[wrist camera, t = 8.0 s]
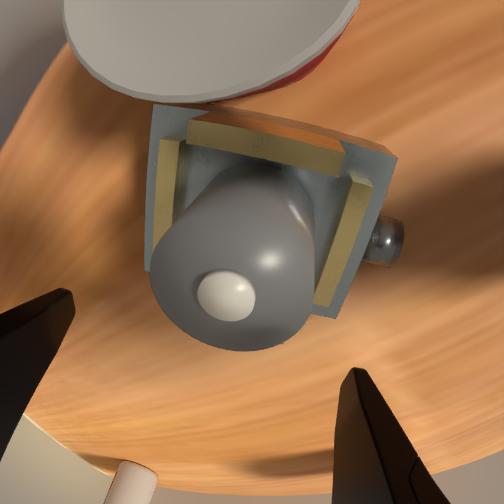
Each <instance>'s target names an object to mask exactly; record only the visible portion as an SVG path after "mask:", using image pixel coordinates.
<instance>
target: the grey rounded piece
mask: <svg viewBox="0 0 504 504" xmlns="http://www.w3.org/2000/svg"><path fill="white" fill-rule="evenodd" d="M314 266H315V242H314V213H313V208H312V205H311V203H310V200H309V198H308V196H307V194H306V193H305V191H304V190H303V189H302V187H301V186H300V185H299V184H298V183H297V182H296V181H295V180H294V179H292V178H291V177H290V176H289V175H287V174H285V173H284V172H282V171H280V170H277V169H275V168H272V167H269V166H265V165H259V164H247V165H240V166H236V167H233V168H230V169H228V170H226V171H224V172H222V173H220V174H219V175H218V176H216V177H215V178H214V179H213V180H212V181H211V182H210V183H209V184H208V185H207V186H206V187H205V189H204V190H203V191H202V192H201V193H200V194H199V195H198V196H197V197H196V199H195V200H194V201H193V202H192V203H191V204H190V205H189V206H188V207H187V209H186V210H185V211H184V212H183V213H182V214H181V215H180V217H179V218H178V219H177V220H176V221H175V222H174V223H173V225H172V226H171V227H170V228H169V229H168V230H167V232H166V233H165V234H164V235H163V236H162V237H161V239H160V240H159V242H158V243H157V245H156V247H155V249H154V251H153V254H152V257H151V261H150V281H151V286H152V290H153V292H154V295H155V298H156V300H157V302H158V303H159V305H160V307H161V308H162V310H163V311H164V313H165V314H166V315H167V316H168V317H169V319H170V320H171V321H172V322H173V323H174V324H175V325H176V326H178V327H179V328H180V329H181V330H183V331H184V332H185V333H187V334H188V335H190V336H191V337H193V338H195V339H197V340H199V341H201V342H203V343H206V344H208V345H211V346H214V347H217V348H221V349H226V350H232V351H257V350H263V349H267V348H270V347H274V346H276V345H278V344H281V343H283V342H284V341H286V340H288V339H289V338H291V337H292V336H293V335H295V334H296V333H297V332H298V331H299V330H300V329H301V328H302V326H303V325H304V324H305V322H306V321H307V319H308V317H309V315H310V313H311V310H312V306H313V301H314Z"/></svg>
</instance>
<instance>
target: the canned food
mask: <svg viewBox="0 0 504 504" xmlns="http://www.w3.org/2000/svg"><path fill="white" fill-rule="evenodd" d="M360 2H361V0H61V6H62V22H63V26H64V30H65V33H66V37H67V41H68V43H69V45H70V46H71V48H72V50H73V52H74V54H75V56H76V58H77V59H78V61H79V62H80V63H81V64H82V65H83V66H84V67H85V68H86V69H87V71H88V72H89V73H90V74H91V75H92V76H93V77H95V78H96V79H98V80H99V81H101V82H102V83H104V84H105V85H107V86H108V87H110V88H111V89H114V90H116V91H119V92H121V93H124V94H126V95H129V96H131V97H134V98H139V99H145V100H151V101H156V102H162V103H205V102H211V101H218V100H224V99H231V98H238V97H244V96H248V95H252V94H257V93H262V92H266V91H271V90H275V89H279V88H282V87H286V86H288V85H290V84H293V83H295V82H297V81H299V80H301V79H302V78H304V77H305V76H306V75H308V74H309V73H311V72H312V71H313V70H314V69H315V68H316V67H317V66H318V65H319V64H320V63H321V62H322V61H323V59H324V58H325V57H326V55H327V54H328V53H329V51H330V50H331V49H332V47H333V46H334V45H335V43H336V42H337V41H338V39H339V38H340V36H341V35H342V33H343V32H344V30H345V28H346V27H347V25H348V24H349V22H350V21H351V19H352V18H353V16H354V13H355V12H356V10H357V9H358V7H359V4H360Z"/></svg>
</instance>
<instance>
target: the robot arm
mask: <svg viewBox="0 0 504 504" xmlns="http://www.w3.org/2000/svg"><path fill="white" fill-rule="evenodd" d="M74 316H75V305H74V300H73V295H72V292H71V291H69V290H67V289H64V288H58V289H56V290H53V291H51V292H49V293H46V294H44V295H42V296H40V297H37V298H35V299H33V300H30V301H28V302H26V303H24V304H21V305H19V306H17V307H15V308H12V309H10V310H8V311H6V312H4V313H1V314H0V461H1V459H2V456H3V454H4V452H5V450H6V448H7V445H8V443H9V441H10V439H11V437H12V435H13V433H14V430H15V429H16V427H17V425H18V422H19V421H20V419H21V416H22V415H23V413H24V411H25V409H26V407H27V405H28V403H29V401H30V399H31V398H32V396H33V394H34V392H35V390H36V388H37V386H38V385H39V383H40V381H41V379H42V378H43V376H44V374H45V372H46V371H47V369H48V367H49V365H50V364H51V362H52V360H53V359H54V357H55V355H56V353H57V351H58V349H59V347H60V345H61V343H62V341H63V339H64V337H65V335H66V333H67V330H68V328H69V326H70V324H71V322H72V320H73V318H74ZM332 504H450V502H449V501H448V499H447V498H446V497H445V495H444V494H443V493H442V491H441V490H440V489H439V487H438V486H437V485H436V483H435V481H434V480H433V478H432V477H431V475H430V474H429V472H428V471H427V469H426V467H425V466H424V464H423V462H422V461H421V459H420V457H418V454H417V452H416V451H415V449H414V447H413V446H412V444H411V442H410V441H409V439H408V437H407V436H406V434H405V432H404V431H403V429H402V427H401V426H400V424H399V422H398V421H397V419H396V418H395V416H394V414H393V413H392V411H391V409H390V408H389V406H388V404H387V403H386V401H385V400H384V398H383V396H382V395H381V393H380V392H379V390H378V388H377V387H376V385H375V384H374V382H373V380H372V379H371V377H370V376H369V374H368V372H367V371H366V370H365V369H362V368H356V367H353V368H352V369H351V370H350V371H349V373H348V374H347V376H346V378H345V379H344V381H343V382H342V384H341V388H340V394H339V403H338V411H337V418H336V426H335V437H334V468H333V488H332Z"/></svg>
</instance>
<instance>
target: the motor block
mask: <svg viewBox="0 0 504 504" xmlns="http://www.w3.org/2000/svg"><path fill="white" fill-rule="evenodd" d="M397 159H398V158H397V157H396V156H395V155H394V154H393V153H392V152H391V151H389V150H388V149H387V148H386V147H385V146H383V145H380V144H377V143H374V142H370V141H367V140H364V139H361V138H357V137H354V136H351V135H347V134H344V133H340V132H337V131H333V130H329V129H326V128H322V127H318V126H314V125H310V124H306V123H302V122H298V121H294V120H290V119H285V118H281V117H276V116H272V115H267V114H262V113H257V112H252V111H247V110H241V109H236V108H230V107H224V106H218V105H211V104H205V103H162V102H161V103H157V104H153V113H152V122H151V132H150V142H149V154H148V168H147V183H146V204H145V237H144V271H147V272H150V261H151V257H152V254H153V251H154V249H155V247H156V245H157V243H158V242H159V240H160V239H161V237H162V236H163V235H164V234H165V233H166V232H167V230H168V229H169V228H170V227H171V226H172V225H173V223H174V222H175V221H176V220H177V219H178V218H179V217H180V215H181V214H182V213H183V212H184V211H185V210H186V209H187V207H188V206H189V205H190V204H191V203H192V202H193V201H194V200H195V199H196V197H197V196H198V195H199V194H200V193H201V192H202V191H203V190H204V189H205V187H206V186H207V185H208V184H209V183H210V182H211V181H212V180H213V179H214V178H215V177H216V176H218V175H219V174H220V173H222V172H224V171H226V170H228V169H230V168H233V167H236V166H240V165H247V164H259V165H265V166H269V167H272V168H275V169H277V170H280V171H282V172H284V173H285V174H287V175H289V176H290V177H291V178H292V179H294V180H295V181H296V182H297V183H298V184H299V185H300V186H301V187H302V189H303V190H304V191H305V193H306V194H307V196H308V198H309V200H310V203H311V205H312V208H313V213H314V242H315V266H314V301H313V306H312V310H311V314H315V315H320V316H324V317H329V318H334V319H336V318H337V316H338V313H339V311H340V309H341V307H342V304H343V302H344V300H345V298H346V295H347V293H348V291H349V288H350V286H351V284H352V281H353V279H354V277H355V274H356V272H357V269H358V267H359V265H360V262H361V261H363V262H367V263H371V264H375V265H379V266H383V267H387V268H390V267H392V266H393V265H394V264H395V263H396V261H397V259H398V257H399V255H400V252H401V249H402V245H403V240H404V226H403V223H402V222H401V221H399V220H396V219H393V218H389V217H386V216H383V215H379V213H380V210H381V207H382V204H383V201H384V199H385V196H386V193H387V190H388V187H389V184H390V181H391V178H392V175H393V172H394V169H395V166H396V163H397ZM281 344H284V342H283V343H281Z"/></svg>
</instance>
